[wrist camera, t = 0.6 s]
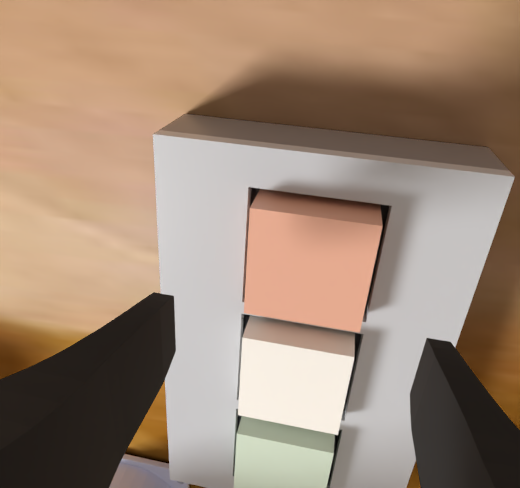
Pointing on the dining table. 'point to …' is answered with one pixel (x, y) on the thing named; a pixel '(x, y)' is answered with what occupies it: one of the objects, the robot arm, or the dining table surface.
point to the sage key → (281, 456)
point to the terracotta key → (311, 258)
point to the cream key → (295, 373)
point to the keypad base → (366, 342)
